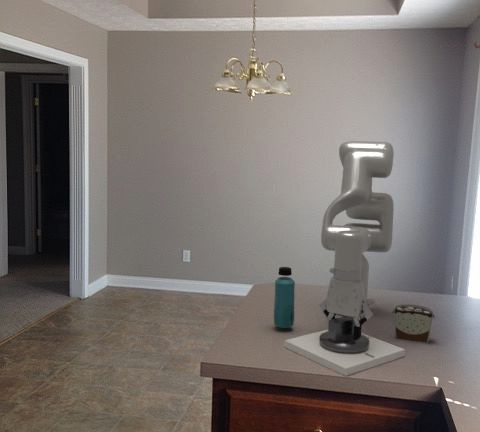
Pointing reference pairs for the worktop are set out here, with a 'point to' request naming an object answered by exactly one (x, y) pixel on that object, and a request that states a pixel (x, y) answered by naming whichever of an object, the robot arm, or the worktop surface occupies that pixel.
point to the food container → (412, 323)
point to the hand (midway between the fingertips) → (344, 335)
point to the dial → (343, 337)
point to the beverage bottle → (284, 299)
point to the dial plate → (343, 361)
